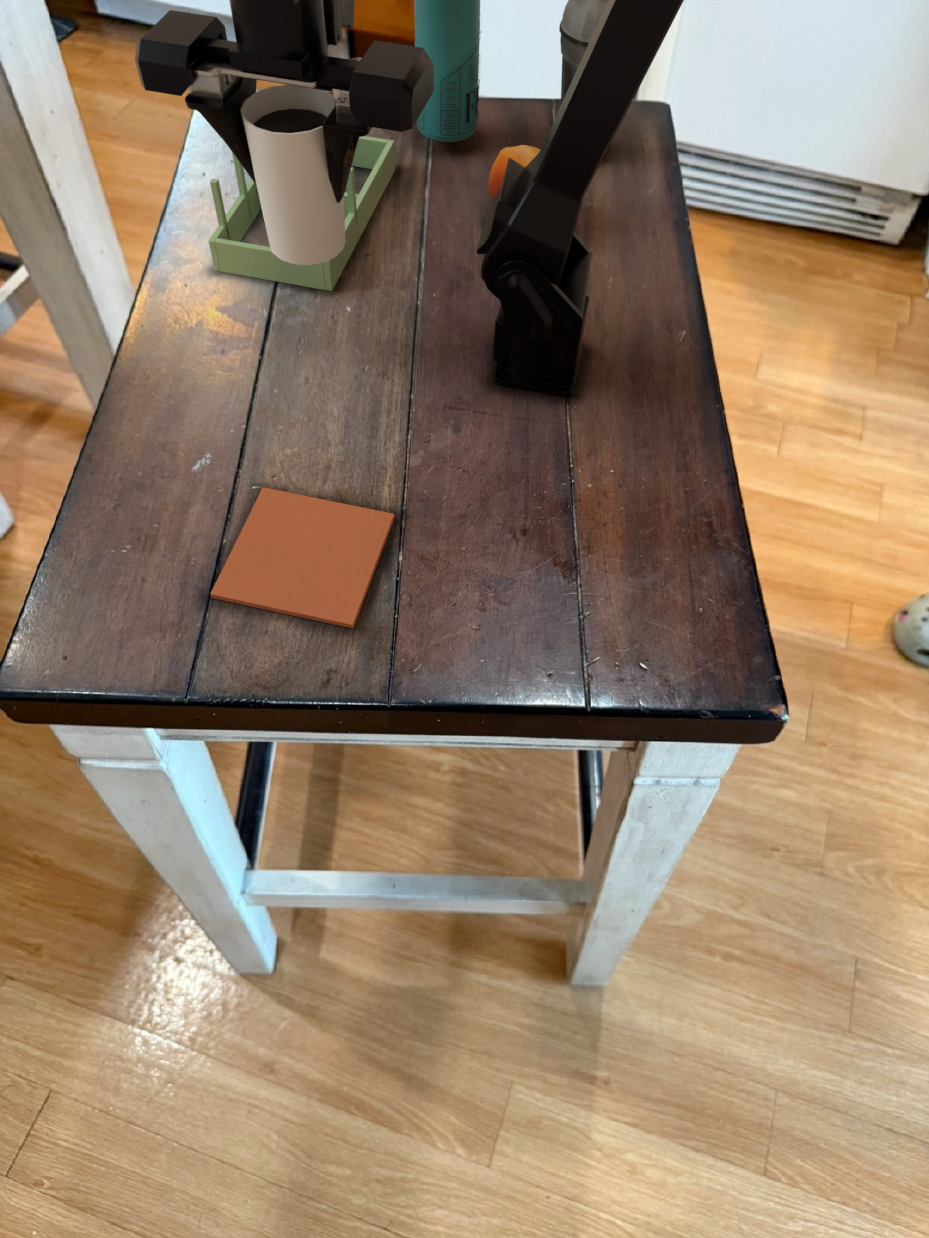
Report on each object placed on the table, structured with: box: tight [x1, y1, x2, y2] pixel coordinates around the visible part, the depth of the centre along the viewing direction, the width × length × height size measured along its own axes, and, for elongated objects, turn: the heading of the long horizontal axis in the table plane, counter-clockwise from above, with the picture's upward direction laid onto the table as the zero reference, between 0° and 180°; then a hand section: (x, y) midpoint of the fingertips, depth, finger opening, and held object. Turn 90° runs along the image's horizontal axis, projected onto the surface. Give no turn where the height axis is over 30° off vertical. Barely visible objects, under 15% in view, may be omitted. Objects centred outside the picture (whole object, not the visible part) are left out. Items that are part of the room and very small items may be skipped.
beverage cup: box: [558, 0, 608, 105], centre depth 87 cm, size 7×7×20 cm
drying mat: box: [210, 487, 396, 630], centre depth 64 cm, size 10×10×1 cm
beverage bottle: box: [412, 0, 483, 143], centre depth 88 cm, size 6×7×20 cm
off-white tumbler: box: [240, 84, 346, 265], centre depth 66 cm, size 7×7×10 cm
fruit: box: [487, 144, 541, 203], centre depth 86 cm, size 8×8×8 cm
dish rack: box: [208, 135, 396, 292], centre depth 85 cm, size 11×20×7 cm, turn 167°
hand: (301, 193), depth 67 cm, fingers closed on off-white tumbler, 5 cm apart
